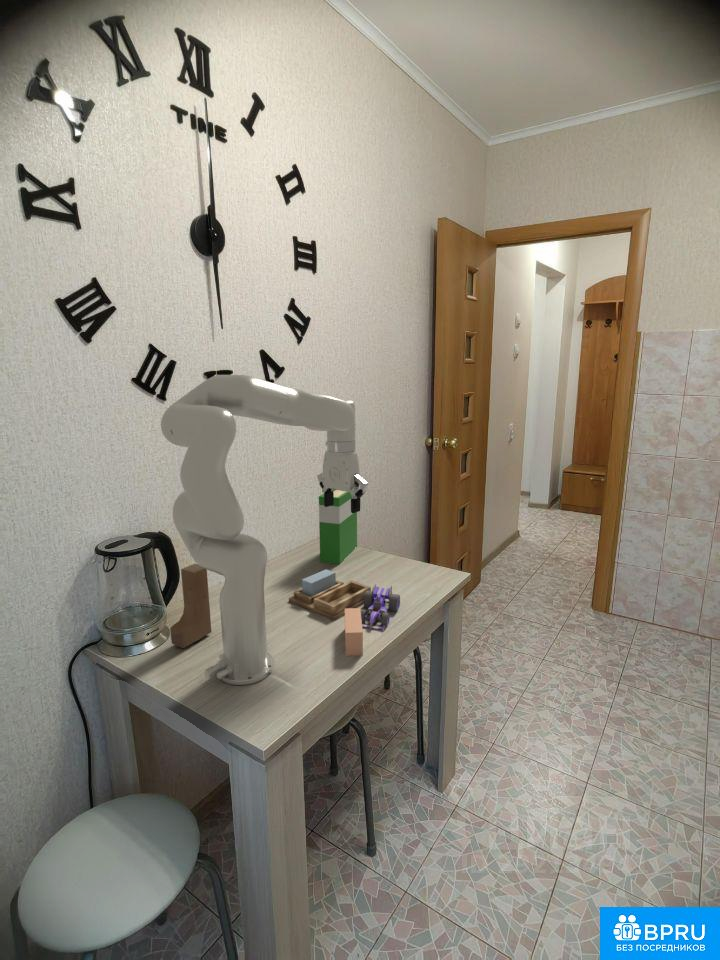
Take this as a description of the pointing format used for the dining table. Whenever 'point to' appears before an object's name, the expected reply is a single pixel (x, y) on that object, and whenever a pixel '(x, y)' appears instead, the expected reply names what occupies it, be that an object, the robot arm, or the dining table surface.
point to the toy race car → (379, 607)
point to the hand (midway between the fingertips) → (342, 508)
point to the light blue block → (318, 582)
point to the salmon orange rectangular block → (353, 631)
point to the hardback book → (337, 528)
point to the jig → (333, 599)
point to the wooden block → (193, 608)
